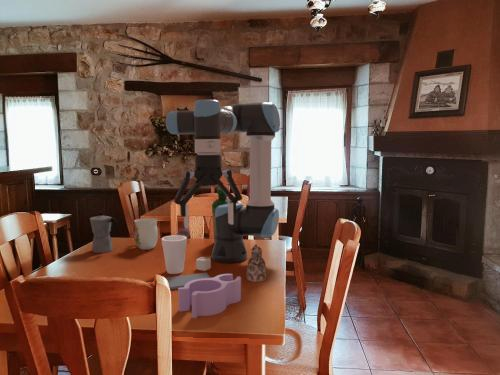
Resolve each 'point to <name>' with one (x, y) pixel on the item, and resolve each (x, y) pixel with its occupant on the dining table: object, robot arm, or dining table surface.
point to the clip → (209, 294)
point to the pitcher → (146, 233)
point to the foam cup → (174, 253)
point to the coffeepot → (102, 233)
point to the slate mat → (184, 280)
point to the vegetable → (184, 231)
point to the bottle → (216, 203)
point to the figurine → (256, 266)
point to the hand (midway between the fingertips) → (209, 225)
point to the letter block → (203, 263)
